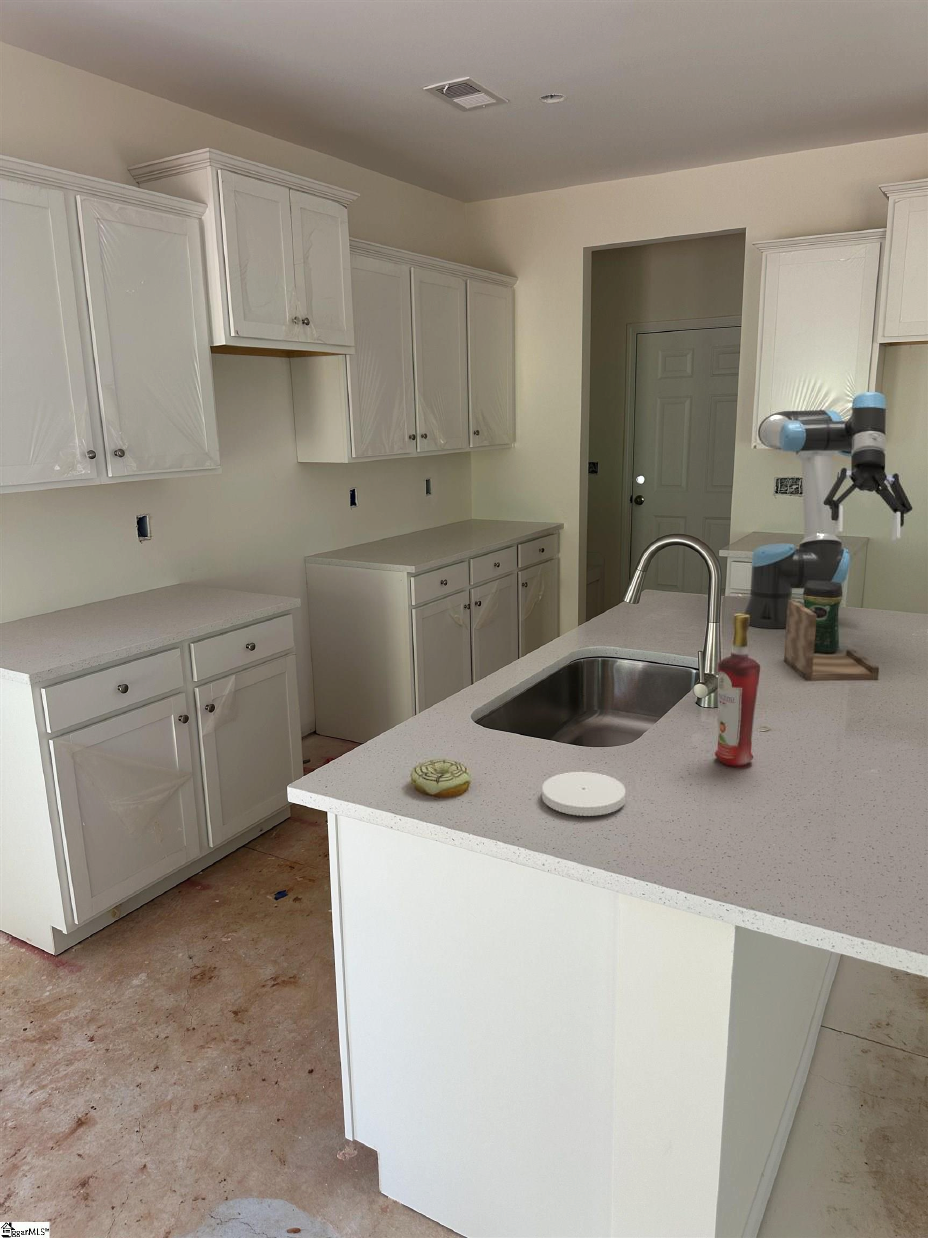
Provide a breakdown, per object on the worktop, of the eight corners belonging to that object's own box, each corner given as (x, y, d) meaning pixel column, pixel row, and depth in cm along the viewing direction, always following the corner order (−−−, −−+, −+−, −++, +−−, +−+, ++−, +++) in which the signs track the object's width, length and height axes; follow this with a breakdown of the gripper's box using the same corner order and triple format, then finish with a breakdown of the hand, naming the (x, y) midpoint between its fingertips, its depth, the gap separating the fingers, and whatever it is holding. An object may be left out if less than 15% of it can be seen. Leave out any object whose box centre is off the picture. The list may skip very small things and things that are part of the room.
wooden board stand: (783, 661, 224) (788, 599, 220) (851, 660, 223) (856, 599, 219) (805, 680, 208) (810, 614, 204) (877, 679, 208) (884, 614, 204)
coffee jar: (841, 648, 234) (846, 580, 230) (834, 655, 228) (840, 585, 223) (803, 643, 239) (808, 576, 235) (795, 650, 233) (800, 582, 228)
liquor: (704, 758, 164) (711, 613, 158) (736, 751, 167) (744, 609, 160) (730, 772, 158) (739, 622, 151) (762, 765, 161) (772, 617, 154)
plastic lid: (627, 788, 153) (627, 775, 153) (623, 825, 140) (623, 810, 139) (547, 782, 156) (547, 769, 156) (536, 817, 143) (536, 803, 143)
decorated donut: (432, 806, 148) (431, 785, 147) (400, 784, 156) (399, 765, 156) (482, 790, 154) (482, 770, 153) (448, 770, 162) (448, 751, 161)
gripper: (822, 441, 210) (820, 525, 205) (927, 453, 209) (928, 537, 204) (810, 454, 217) (808, 535, 213) (912, 465, 217) (912, 546, 212)
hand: (867, 536), depth 208 cm, fingers open, 13 cm apart
